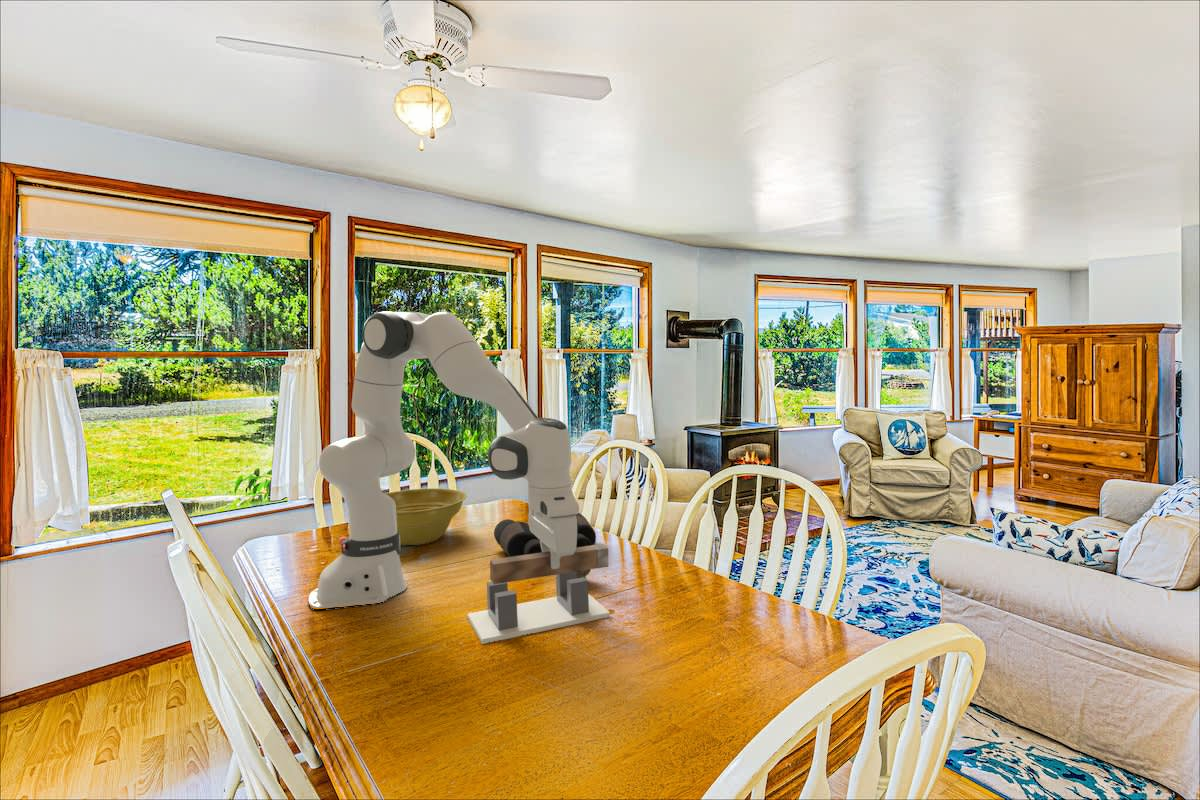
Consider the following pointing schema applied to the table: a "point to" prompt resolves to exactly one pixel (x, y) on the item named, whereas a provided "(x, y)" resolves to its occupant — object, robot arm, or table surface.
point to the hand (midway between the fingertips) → (551, 564)
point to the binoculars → (523, 541)
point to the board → (535, 610)
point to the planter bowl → (425, 513)
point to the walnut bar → (547, 564)
